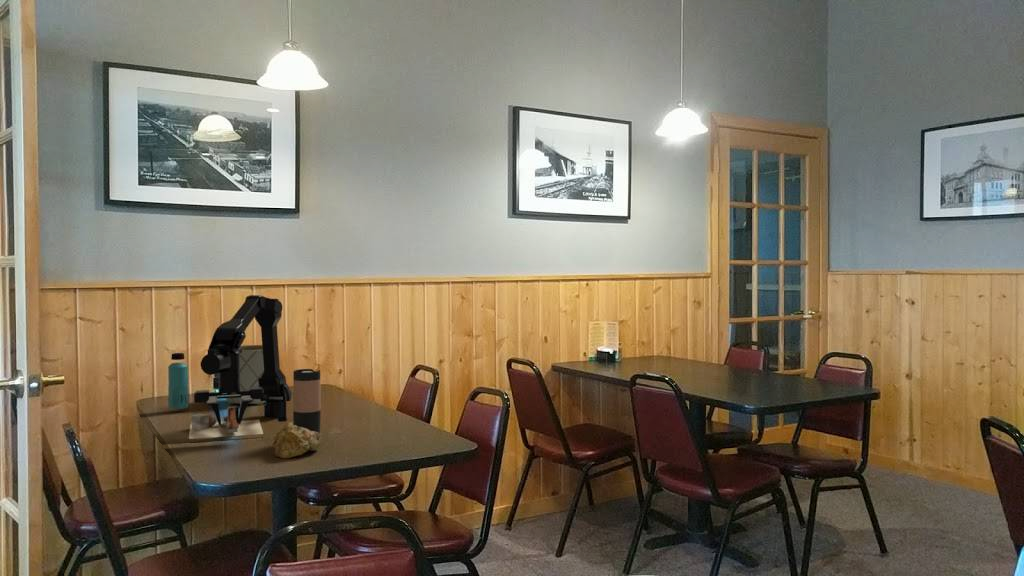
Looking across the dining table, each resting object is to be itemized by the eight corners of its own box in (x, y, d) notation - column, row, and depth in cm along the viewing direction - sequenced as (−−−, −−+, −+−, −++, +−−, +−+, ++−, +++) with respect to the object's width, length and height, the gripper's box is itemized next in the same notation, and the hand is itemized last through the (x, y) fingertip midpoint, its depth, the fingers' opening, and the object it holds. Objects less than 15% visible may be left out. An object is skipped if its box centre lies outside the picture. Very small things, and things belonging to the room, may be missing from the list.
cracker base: (259, 423, 247) (259, 407, 247) (263, 437, 226) (263, 420, 226) (190, 427, 239) (190, 410, 239) (188, 443, 219) (188, 424, 219)
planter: (235, 397, 296) (235, 344, 295) (285, 397, 295) (285, 345, 294) (214, 406, 277) (214, 350, 276) (267, 407, 276) (267, 350, 275)
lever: (220, 420, 241) (220, 397, 241) (230, 419, 242) (230, 396, 242) (228, 433, 222) (228, 408, 222) (239, 432, 223) (239, 407, 223)
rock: (307, 469, 211) (324, 434, 214) (310, 470, 203) (327, 434, 206) (266, 452, 208) (283, 417, 211) (268, 453, 200) (285, 416, 203)
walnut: (216, 425, 238) (216, 413, 238) (216, 427, 235) (216, 415, 234) (203, 425, 237) (203, 414, 237) (203, 428, 233) (203, 416, 233)
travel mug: (293, 443, 219) (293, 372, 219) (293, 438, 226) (293, 369, 226) (321, 442, 221) (321, 372, 221) (320, 436, 228) (320, 368, 228)
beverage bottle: (181, 413, 262) (181, 354, 261) (163, 412, 263) (163, 353, 263) (192, 410, 268) (192, 352, 268) (175, 409, 270) (175, 351, 269)
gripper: (261, 366, 234) (262, 418, 234) (194, 369, 227) (194, 422, 227) (264, 369, 223) (264, 424, 224) (193, 373, 217) (194, 429, 217)
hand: (229, 425), depth 223 cm, fingers open, 5 cm apart
